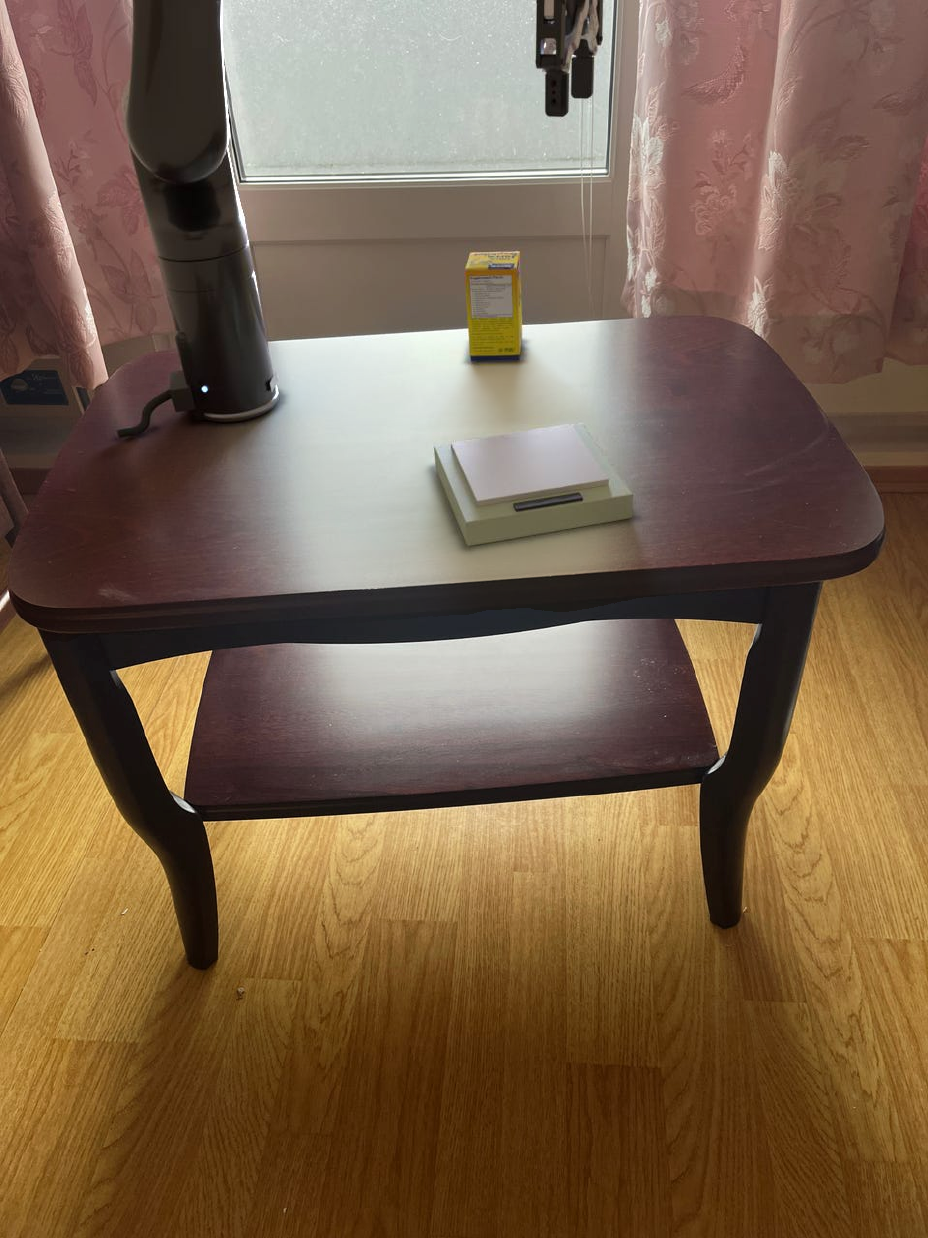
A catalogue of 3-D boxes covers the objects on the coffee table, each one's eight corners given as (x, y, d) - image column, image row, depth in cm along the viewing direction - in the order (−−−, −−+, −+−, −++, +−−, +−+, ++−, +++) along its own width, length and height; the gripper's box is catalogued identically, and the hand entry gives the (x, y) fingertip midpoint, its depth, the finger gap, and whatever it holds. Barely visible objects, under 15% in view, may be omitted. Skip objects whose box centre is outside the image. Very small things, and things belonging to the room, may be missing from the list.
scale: (467, 546, 82) (465, 516, 80) (435, 468, 93) (433, 440, 91) (631, 518, 84) (633, 488, 82) (582, 445, 95) (582, 417, 93)
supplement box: (522, 341, 116) (521, 249, 109) (520, 361, 111) (518, 267, 104) (474, 341, 116) (469, 250, 110) (469, 362, 112) (464, 268, 105)
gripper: (557, -96, 93) (556, 91, 103) (507, -85, 83) (511, 121, 93) (633, -99, 90) (623, 93, 100) (590, -89, 80) (585, 123, 90)
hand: (569, 106), depth 97 cm, fingers open, 8 cm apart
